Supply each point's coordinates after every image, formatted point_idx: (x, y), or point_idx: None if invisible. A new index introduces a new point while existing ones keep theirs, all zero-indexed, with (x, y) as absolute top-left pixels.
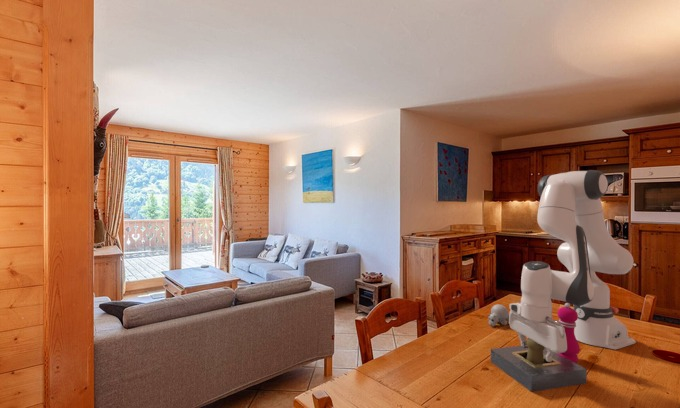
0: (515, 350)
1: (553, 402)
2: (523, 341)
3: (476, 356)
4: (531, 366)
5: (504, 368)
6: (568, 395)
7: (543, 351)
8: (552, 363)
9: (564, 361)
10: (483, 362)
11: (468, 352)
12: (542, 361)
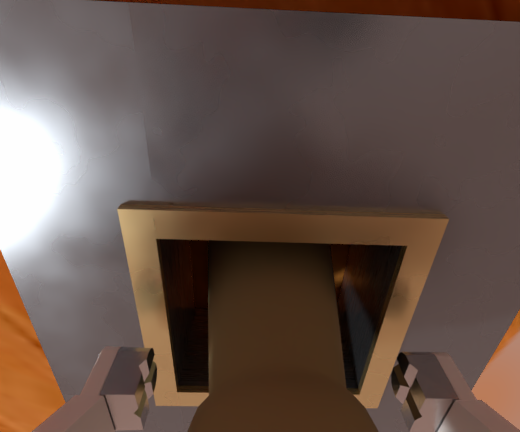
0: None
1: (493, 359)
2: (108, 425)
3: (58, 397)
4: None
5: None
6: None
7: (161, 152)
8: (408, 289)
9: (428, 125)
10: None
11: (13, 406)
12: (337, 318)
